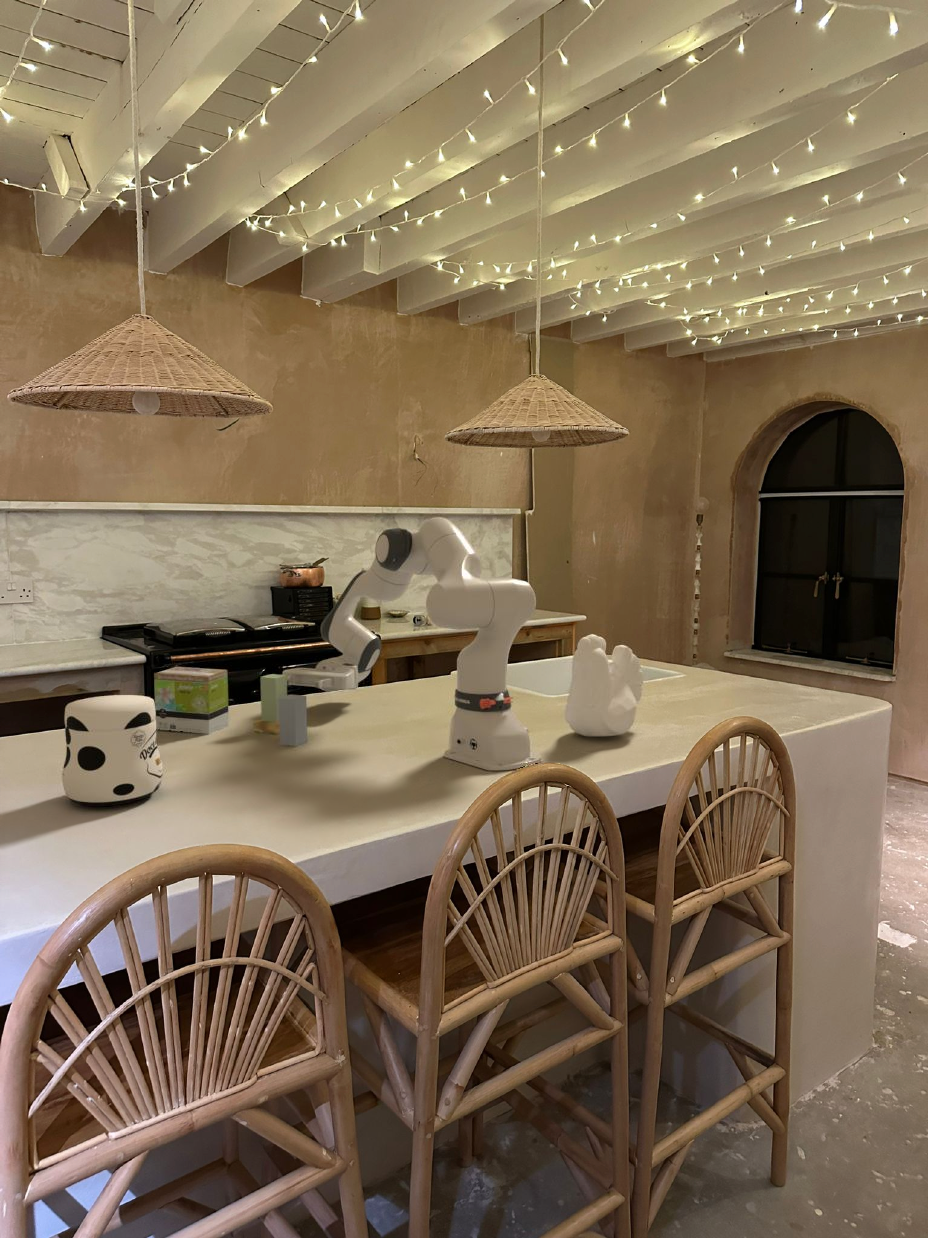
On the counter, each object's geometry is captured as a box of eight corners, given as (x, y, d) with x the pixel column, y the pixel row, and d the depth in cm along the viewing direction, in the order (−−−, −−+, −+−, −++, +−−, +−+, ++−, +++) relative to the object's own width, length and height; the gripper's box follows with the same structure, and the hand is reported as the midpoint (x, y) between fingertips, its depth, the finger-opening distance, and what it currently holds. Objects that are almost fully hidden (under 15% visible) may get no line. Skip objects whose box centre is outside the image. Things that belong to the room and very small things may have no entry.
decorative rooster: (590, 747, 196) (592, 640, 193) (549, 733, 210) (551, 632, 207) (671, 734, 208) (674, 633, 206) (628, 721, 222) (630, 626, 219)
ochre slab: (294, 728, 214) (294, 718, 214) (277, 734, 208) (277, 724, 208) (271, 725, 217) (271, 715, 217) (254, 731, 211) (253, 721, 211)
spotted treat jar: (181, 796, 161) (177, 702, 159) (89, 820, 148) (85, 717, 146) (135, 778, 172) (132, 690, 170) (47, 798, 159) (42, 703, 157)
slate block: (307, 742, 201) (306, 696, 200) (296, 746, 197) (295, 699, 196) (291, 740, 203) (290, 694, 201) (279, 744, 199) (278, 698, 197)
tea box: (154, 731, 211) (152, 672, 210) (177, 722, 221) (175, 665, 219) (209, 735, 208) (207, 674, 206) (230, 725, 217) (228, 668, 216)
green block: (287, 718, 214) (286, 675, 212) (276, 722, 209) (275, 678, 208) (272, 717, 215) (271, 674, 214) (261, 721, 211) (260, 677, 210)
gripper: (299, 661, 239) (268, 668, 227) (362, 666, 231) (334, 674, 218) (299, 683, 240) (269, 692, 227) (362, 689, 232) (335, 698, 219)
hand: (301, 683), depth 223 cm, fingers open, 8 cm apart
